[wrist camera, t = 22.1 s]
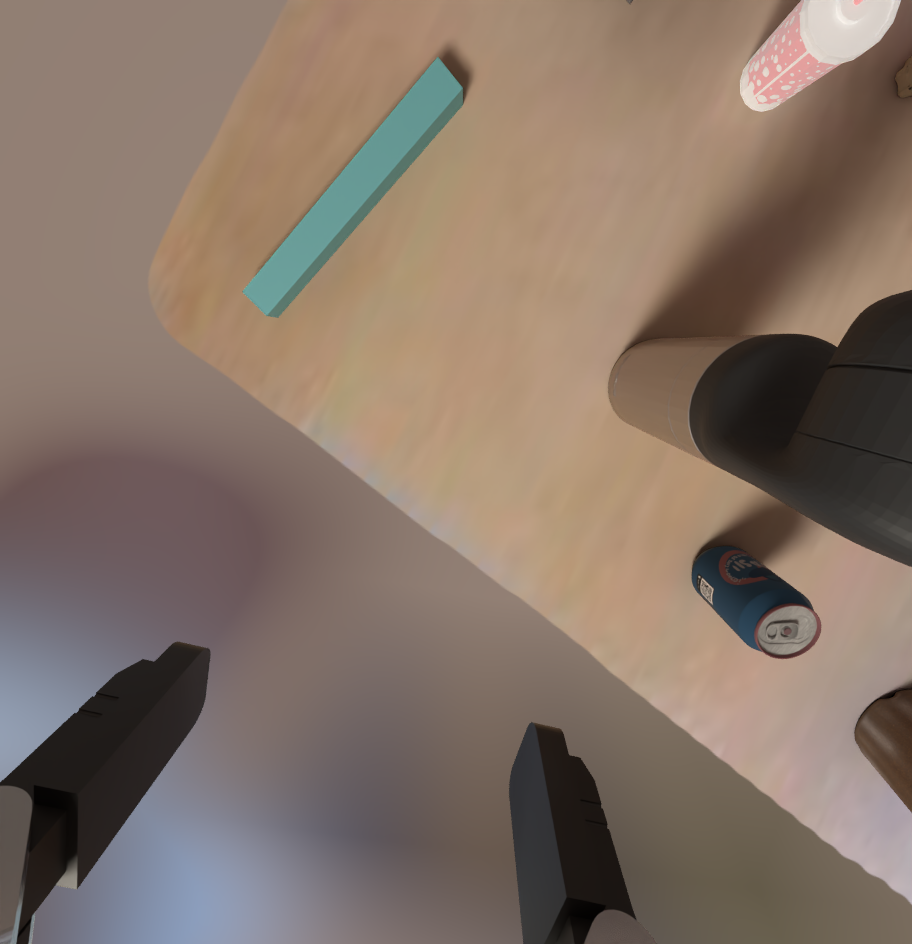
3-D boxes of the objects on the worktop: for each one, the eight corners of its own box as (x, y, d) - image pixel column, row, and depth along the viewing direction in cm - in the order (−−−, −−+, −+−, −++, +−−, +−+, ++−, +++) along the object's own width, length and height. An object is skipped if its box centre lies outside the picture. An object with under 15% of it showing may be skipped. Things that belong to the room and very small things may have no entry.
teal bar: (439, 78, 39) (437, 56, 36) (463, 106, 40) (462, 88, 37) (256, 295, 44) (242, 291, 41) (279, 317, 45) (266, 315, 42)
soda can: (749, 538, 50) (833, 596, 39) (744, 591, 52) (823, 662, 41) (687, 543, 50) (752, 602, 39) (685, 596, 52) (746, 667, 41)
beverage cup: (817, 77, 38) (1009, -69, 25) (758, 138, 39) (910, 30, 26) (775, 18, 37) (951, -169, 24) (716, 82, 38) (851, -59, 25)
